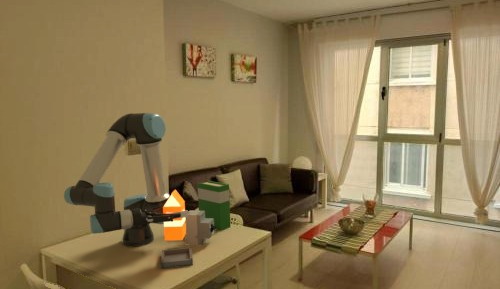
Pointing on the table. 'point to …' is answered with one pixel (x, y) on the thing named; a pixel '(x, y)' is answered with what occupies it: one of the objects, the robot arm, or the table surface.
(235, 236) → the table surface
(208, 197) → the green box
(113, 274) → the table surface
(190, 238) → the circuit breaker
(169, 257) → the tray
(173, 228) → the juice carton
